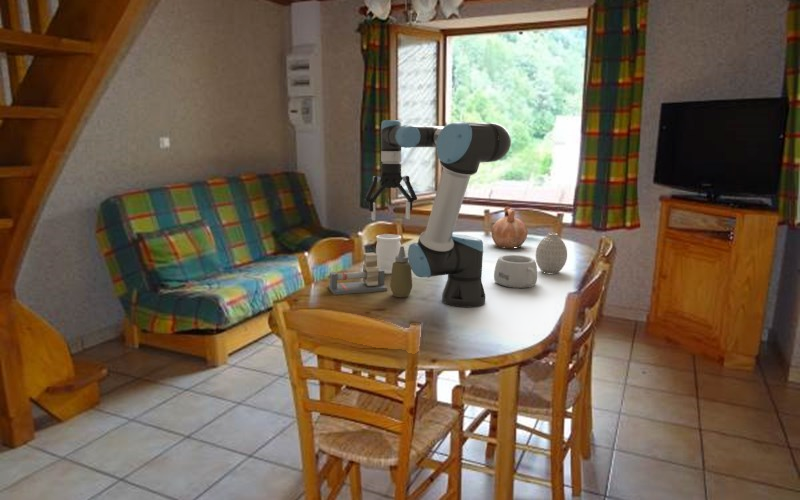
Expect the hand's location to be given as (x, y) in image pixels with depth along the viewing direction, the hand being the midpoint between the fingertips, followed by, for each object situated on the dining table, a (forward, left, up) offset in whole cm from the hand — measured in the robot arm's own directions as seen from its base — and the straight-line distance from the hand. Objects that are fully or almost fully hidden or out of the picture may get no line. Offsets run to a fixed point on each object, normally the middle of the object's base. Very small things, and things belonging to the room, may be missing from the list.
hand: (390, 219), depth 214 cm
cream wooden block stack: (-5, +9, -23) cm, 25 cm away
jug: (+47, -80, -25) cm, 96 cm away
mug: (-16, -47, -25) cm, 56 cm away
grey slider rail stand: (-5, +14, -25) cm, 29 cm away
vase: (-3, -71, -25) cm, 75 cm away
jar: (+16, -5, -25) cm, 30 cm away
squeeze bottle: (-17, +1, -25) cm, 30 cm away
